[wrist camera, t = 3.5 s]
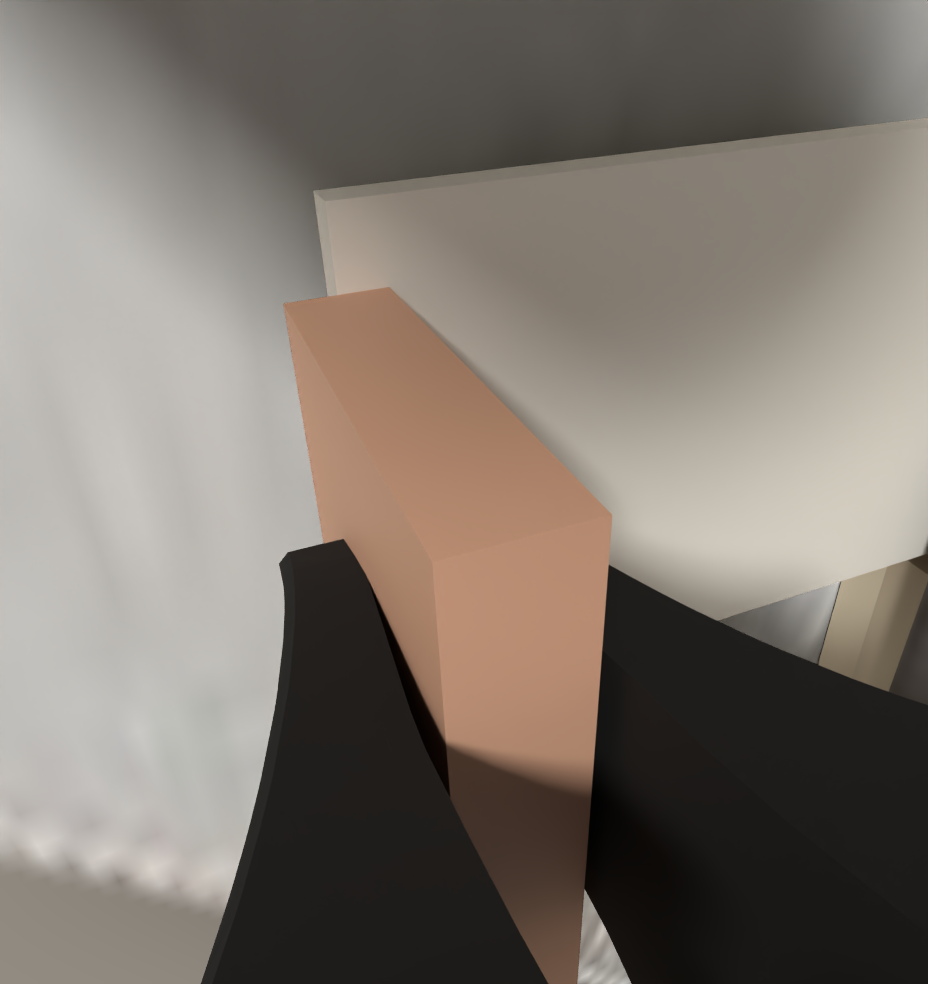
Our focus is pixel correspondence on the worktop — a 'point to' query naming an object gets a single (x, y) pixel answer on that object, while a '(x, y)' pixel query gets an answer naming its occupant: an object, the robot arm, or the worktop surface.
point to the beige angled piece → (608, 433)
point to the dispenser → (883, 629)
